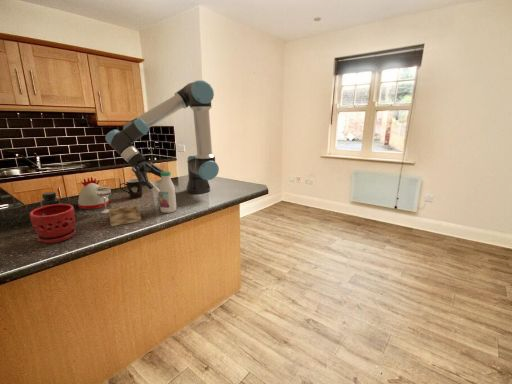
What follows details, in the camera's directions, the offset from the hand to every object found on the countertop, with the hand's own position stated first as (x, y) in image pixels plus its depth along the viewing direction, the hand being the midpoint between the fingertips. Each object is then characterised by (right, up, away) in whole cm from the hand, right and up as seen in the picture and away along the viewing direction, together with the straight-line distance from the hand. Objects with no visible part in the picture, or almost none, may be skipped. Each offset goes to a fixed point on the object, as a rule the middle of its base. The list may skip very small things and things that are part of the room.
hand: (165, 189), depth 126 cm
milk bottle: (0, -11, +4) cm, 12 cm away
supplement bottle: (-48, -14, -9) cm, 51 cm away
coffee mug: (-28, -4, +25) cm, 38 cm away
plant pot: (-31, -19, -28) cm, 46 cm away
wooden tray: (-16, -14, -8) cm, 22 cm away
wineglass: (-30, -11, +1) cm, 32 cm away
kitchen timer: (-42, -8, +11) cm, 44 cm away
